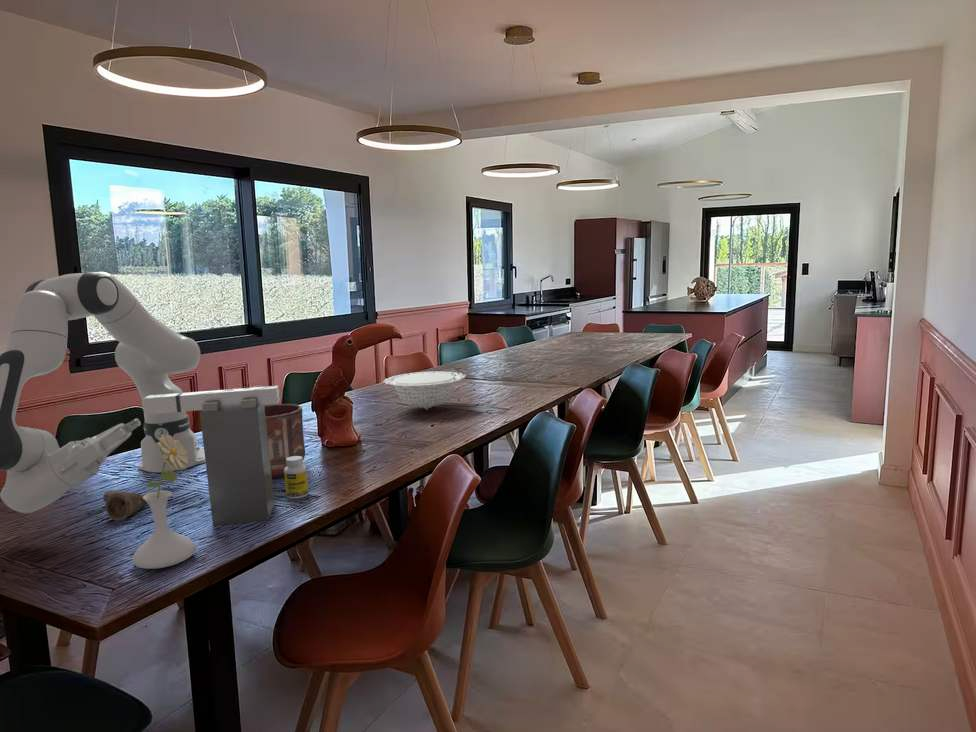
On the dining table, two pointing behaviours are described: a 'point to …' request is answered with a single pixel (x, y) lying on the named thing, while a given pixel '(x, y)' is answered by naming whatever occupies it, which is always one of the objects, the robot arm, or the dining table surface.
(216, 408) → the block
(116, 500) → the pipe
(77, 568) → the dining table surface
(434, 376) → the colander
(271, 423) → the pottery
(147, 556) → the flower in vase
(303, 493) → the supplement bottle
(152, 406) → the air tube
